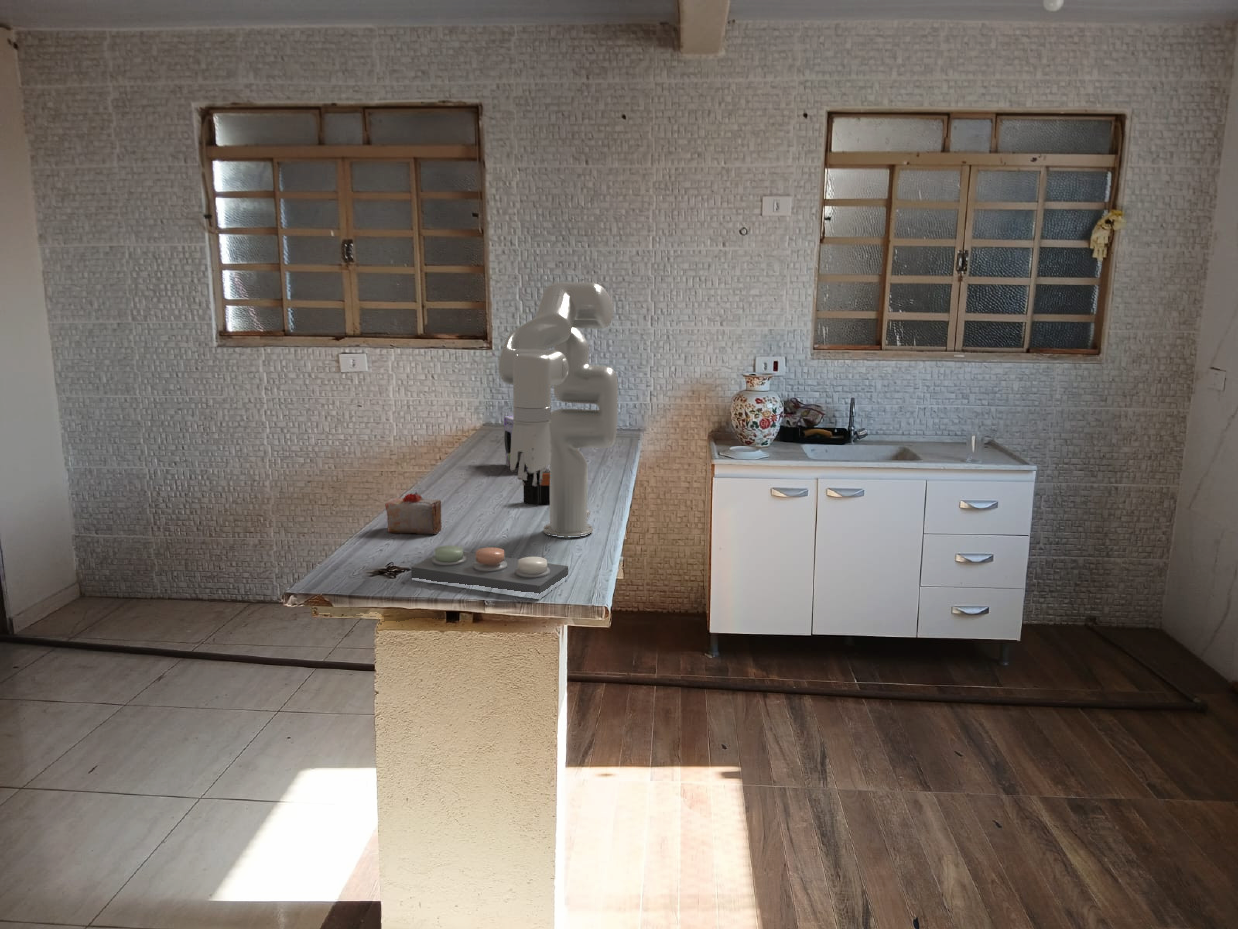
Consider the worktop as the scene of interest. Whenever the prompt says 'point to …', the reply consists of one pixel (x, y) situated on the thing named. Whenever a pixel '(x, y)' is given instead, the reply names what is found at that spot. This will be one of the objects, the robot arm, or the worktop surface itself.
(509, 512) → the worktop surface
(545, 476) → the battery
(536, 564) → the button white
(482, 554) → the button terracotta
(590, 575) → the worktop surface
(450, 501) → the worktop surface
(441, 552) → the button green
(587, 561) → the worktop surface
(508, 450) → the cake pan box
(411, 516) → the food item
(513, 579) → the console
